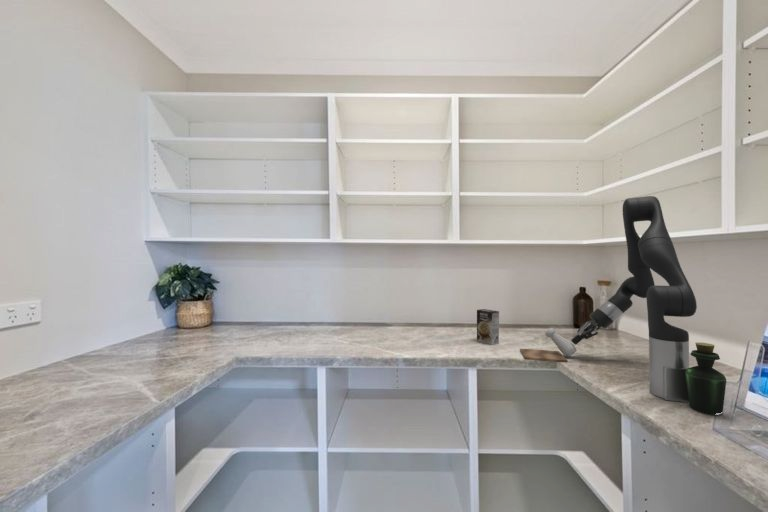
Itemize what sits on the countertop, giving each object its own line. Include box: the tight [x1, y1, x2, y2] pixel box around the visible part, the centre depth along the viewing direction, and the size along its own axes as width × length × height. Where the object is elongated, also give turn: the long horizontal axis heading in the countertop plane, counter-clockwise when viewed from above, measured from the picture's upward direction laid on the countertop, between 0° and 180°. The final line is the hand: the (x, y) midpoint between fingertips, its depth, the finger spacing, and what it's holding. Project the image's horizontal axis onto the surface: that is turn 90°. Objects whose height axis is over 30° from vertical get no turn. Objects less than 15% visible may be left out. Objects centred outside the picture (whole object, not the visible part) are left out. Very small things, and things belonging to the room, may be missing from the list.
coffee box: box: [476, 308, 500, 346], centre depth 163 cm, size 9×6×16 cm
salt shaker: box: [544, 327, 577, 358], centre depth 140 cm, size 6×6×13 cm
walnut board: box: [519, 348, 569, 363], centre depth 140 cm, size 16×14×1 cm
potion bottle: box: [685, 342, 727, 416], centre depth 90 cm, size 8×8×18 cm
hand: (573, 342), depth 137 cm, fingers closed
